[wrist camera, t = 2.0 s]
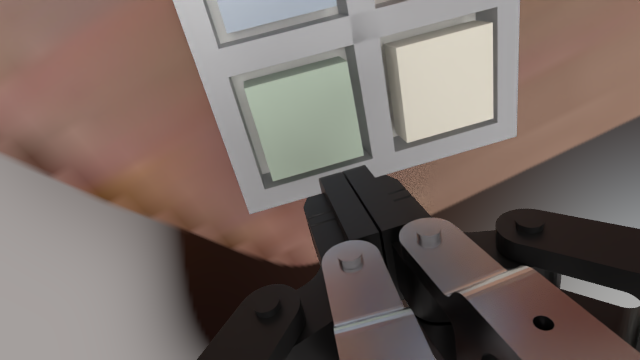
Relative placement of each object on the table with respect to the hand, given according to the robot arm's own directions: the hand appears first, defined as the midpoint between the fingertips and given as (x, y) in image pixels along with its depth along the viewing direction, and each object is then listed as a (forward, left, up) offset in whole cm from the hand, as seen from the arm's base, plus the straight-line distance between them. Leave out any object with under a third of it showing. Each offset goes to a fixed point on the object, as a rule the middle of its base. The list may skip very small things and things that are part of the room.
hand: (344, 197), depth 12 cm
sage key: (0, 0, -10) cm, 10 cm away
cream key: (-8, 0, -10) cm, 12 cm away
